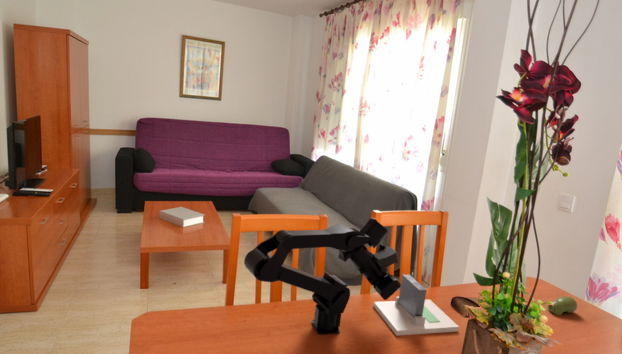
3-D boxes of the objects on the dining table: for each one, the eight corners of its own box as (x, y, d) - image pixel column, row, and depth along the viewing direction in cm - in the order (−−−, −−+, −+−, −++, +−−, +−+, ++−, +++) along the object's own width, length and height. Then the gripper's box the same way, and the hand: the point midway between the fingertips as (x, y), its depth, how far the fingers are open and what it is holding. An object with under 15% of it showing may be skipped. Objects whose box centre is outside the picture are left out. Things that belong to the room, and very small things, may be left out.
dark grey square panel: (413, 322, 119) (419, 290, 117) (397, 304, 129) (402, 274, 127) (421, 321, 120) (426, 289, 118) (404, 304, 129) (409, 274, 127)
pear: (582, 300, 137) (558, 306, 135) (580, 314, 139) (556, 320, 136) (567, 291, 143) (544, 298, 140) (565, 305, 144) (543, 311, 141)
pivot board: (396, 335, 115) (398, 322, 114) (373, 306, 130) (375, 294, 129) (458, 331, 121) (460, 318, 120) (429, 303, 136) (431, 292, 135)
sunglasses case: (462, 317, 129) (460, 295, 131) (451, 317, 135) (449, 296, 137) (514, 318, 132) (511, 296, 134) (501, 318, 138) (498, 297, 140)
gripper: (399, 252, 108) (429, 289, 113) (370, 228, 125) (397, 261, 131) (367, 281, 107) (399, 317, 113) (343, 253, 125) (371, 285, 130)
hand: (392, 293), depth 121 cm, fingers closed
